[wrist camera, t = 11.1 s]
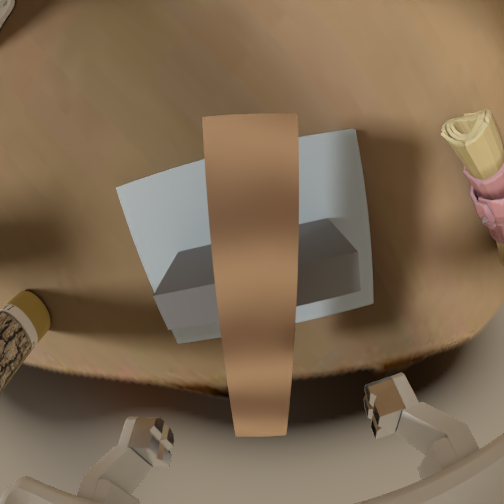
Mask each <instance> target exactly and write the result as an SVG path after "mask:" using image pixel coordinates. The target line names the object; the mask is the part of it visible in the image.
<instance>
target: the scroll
mask: <svg viewBox="0 0 504 504" xmlns="http://www.w3.org/2000/svg"><path fill="white" fill-rule="evenodd" d="M441 131H442V133H441V136H443V137H444V138H445V139H446V140H447V141H448V143H449V144H450V146H451V147H452V148H453V150H454V151H455V153H456V154H457V156H458V157H459V159H460V160H461V162H462V163H463V165H464V171H463V173H464V174H465V176H466V177H467V178H468V180H469V181H470V183H471V186H470V195H471V198H472V201H473V203H474V206H475V209H476V211H477V214H478V216H479V218H480V219H481V221H482V223H483V225H485V226H487V227H488V228H489V233H490V235H491V237H492V238H493V239H494V240H495V241H496V243H497V248H498V253H499V258H500V262H501V264H502V265H503V266H504V146H503V143H502V140H501V137H500V134H499V132H498V129H497V126H496V123H495V121H494V118H493V116H492V113H491V111H490V109H484V110H481V111H478V112H475V113H465V114H464V116H460V117H455V118H453V119H450V120H448V121H446V122H445V123H444V124H443V125H442V130H441Z"/></svg>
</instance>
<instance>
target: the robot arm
mask: <svg viewBox="0 0 504 504" xmlns="http://www.w3.org/2000/svg"><path fill="white" fill-rule="evenodd" d="M14 4H15V1H14V0H0V28H1V26H2V24H3V23H4V21H5V20H6V18H7V17H8V15H9V14H10V12H11V11H12V9H13V7H14ZM365 392H366V395H365V396H364V405H365V410H366V414H367V417H368V418H370V419H371V420H372V422H371V428H372V431H373V434H374V437H375V439H378V438H381V437H384V436H387V435H390V434H393V433H395V434H397V435H398V436H399V437H401V438H402V439H404V440H405V441H406V442H408V443H409V444H410V445H412V446H413V447H415V448H416V449H417V450H419V451H420V452H421V453H423V454H424V455H426V456H425V457H424V459H423V460H422V462H421V464H420V465H419V467H418V471H419V474H420V477H421V480H420V481H418V482H416V483H413V484H411V485H408V486H406V487H403V488H401V489H398V490H395V491H393V492H390V493H387V494H384V495H381V496H378V497H375V498H372V499H369V500H366V501H362V502H359V503H355V504H504V433H503V434H501V435H500V436H499V437H497V438H496V439H494V440H493V441H491V442H490V443H488V444H487V445H485V446H484V447H482V448H481V449H479V447H478V445H477V443H476V441H475V439H474V437H473V435H472V433H471V431H470V430H469V427H468V426H467V424H465V423H463V422H461V421H459V420H457V419H455V418H453V417H451V416H449V415H447V414H445V413H443V412H441V411H439V410H437V409H436V408H433V407H432V406H429V405H428V404H426V403H424V402H420V403H419V402H418V400H417V398H416V396H415V394H414V392H413V390H412V388H411V386H410V385H409V383H408V381H407V379H406V377H405V375H404V374H403V373H398V374H396V375H393V376H390V377H387V378H384V379H381V380H378V381H375V382H372V383H369V384H366V385H365ZM173 445H174V435H173V432H172V430H171V429H170V428H169V427H168V426H166V425H164V421H163V420H162V418H160V417H128V418H127V419H126V421H125V425H124V427H123V430H122V434H121V437H120V440H119V443H118V446H114V447H113V448H112V449H111V450H110V451H109V452H108V453H107V454H106V455H104V456H103V457H102V458H101V459H100V460H99V461H98V462H97V463H96V464H95V465H93V466H92V467H91V468H90V469H89V470H88V471H86V472H85V473H84V475H83V478H82V481H81V484H80V488H79V491H78V495H77V496H76V495H72V494H70V493H67V492H64V491H62V490H59V489H57V488H54V487H51V486H49V485H47V484H44V483H42V482H40V481H38V480H36V479H33V478H31V477H28V476H25V477H22V478H20V479H19V480H17V481H16V482H14V483H13V484H11V485H10V486H9V487H7V489H6V490H5V491H4V493H3V494H2V497H1V498H0V504H140V501H139V499H137V498H135V497H134V496H132V495H131V494H132V492H133V491H134V490H135V489H136V487H137V486H138V485H139V484H140V483H141V481H142V480H143V479H144V478H145V477H146V475H147V474H148V473H149V471H150V470H151V469H152V468H153V467H152V466H157V467H170V462H171V456H172V454H171V452H170V451H169V450H170V449H171V448H172V447H173Z"/></svg>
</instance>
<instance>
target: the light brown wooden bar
mask: <svg viewBox="0 0 504 504" xmlns="http://www.w3.org/2000/svg"><path fill="white" fill-rule="evenodd" d="M202 122H203V142H204V159H205V175H206V189H207V202H208V215H209V227H210V238H211V249H212V259H213V269H214V279H215V288H216V297H217V306H218V315H219V323H220V331H221V339H222V347H223V354H224V362H225V369H226V376H227V383H228V390H229V396H230V403H231V409H232V416H233V422H234V428H235V434H236V437H257V436H279V435H286V432H287V423H288V413H289V402H290V390H291V379H292V366H293V353H294V337H295V320H296V300H297V276H298V242H299V138H298V114H295V113H266V114H237V115H221V116H208V117H202Z"/></svg>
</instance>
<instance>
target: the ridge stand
mask: <svg viewBox="0 0 504 504" xmlns="http://www.w3.org/2000/svg"><path fill="white" fill-rule="evenodd" d="M298 138H299V242H298V276H297V300H296V320H295V323H298V322H302V321H307V320H311V319H315V318H320V317H324V316H328V315H332V314H336V313H340V312H344V311H348V310H352V309H355V308H359V307H363V306H366V305H370V304H374V301H373V269H372V251H371V238H370V226H369V216H368V207H367V198H366V191H365V183H364V176H363V169H362V163H361V157H360V151H359V146H358V140H357V135H356V130H355V129H346V130H339V131H332V132H326V133H319V134H313V135H308V136H302V137H298ZM116 190H117V193H118V196H119V199H120V202H121V205H122V208H123V211H124V214H125V217H126V220H127V223H128V226H129V229H130V232H131V235H132V237H133V240H134V243H135V245H136V248H137V251H138V253H139V256H140V259H141V261H142V264H143V266H144V269H145V271H146V274H147V276H148V279H149V281H150V283H151V286H152V288H153V291H154V295H153V297H154V300H155V302H156V304H157V306H158V309H159V311H160V313H161V315H162V317H163V320H164V322H165V324H166V326H167V328H168V330H171V331H172V333H173V335H174V337H175V339H176V341H177V343H178V344H180V343H187V342H194V341H201V340H208V339H214V338H220V337H221V331H220V323H219V315H218V306H217V297H216V288H215V279H214V269H213V259H212V249H211V238H210V227H209V215H208V202H207V189H206V175H205V159H202V160H198V161H195V162H191V163H188V164H185V165H181V166H178V167H175V168H172V169H168V170H165V171H162V172H159V173H156V174H153V175H150V176H147V177H144V178H141V179H138V180H135V181H132V182H130V183H127V184H124V185H121V186H119V187H117V188H116Z"/></svg>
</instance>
